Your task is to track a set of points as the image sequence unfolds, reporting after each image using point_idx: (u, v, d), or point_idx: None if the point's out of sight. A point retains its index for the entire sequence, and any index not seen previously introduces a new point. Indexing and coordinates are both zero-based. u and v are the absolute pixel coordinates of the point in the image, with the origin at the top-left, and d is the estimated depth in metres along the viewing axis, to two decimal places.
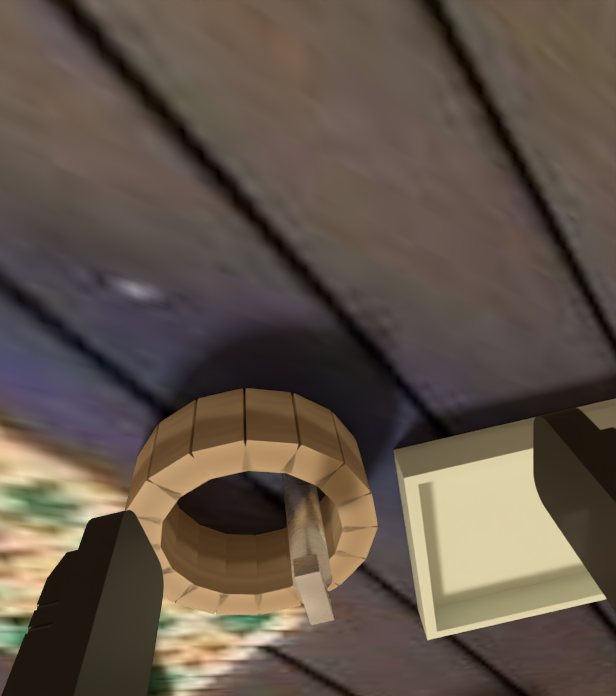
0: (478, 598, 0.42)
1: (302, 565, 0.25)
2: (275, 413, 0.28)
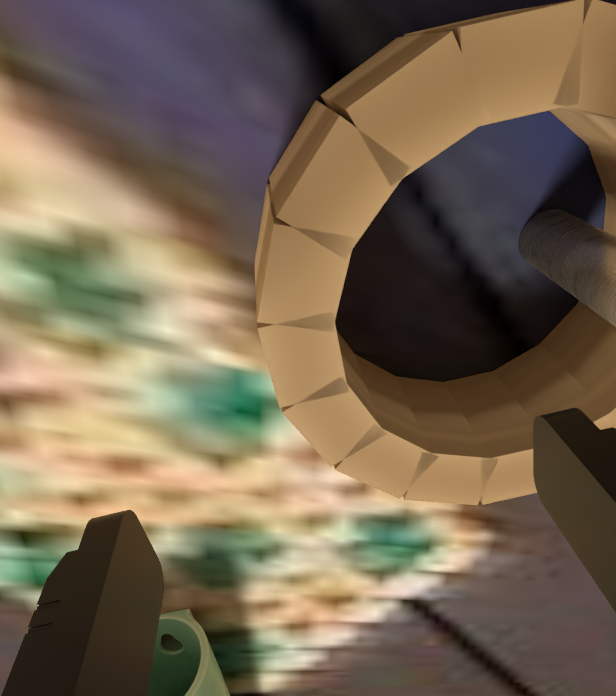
0: None
1: None
2: None
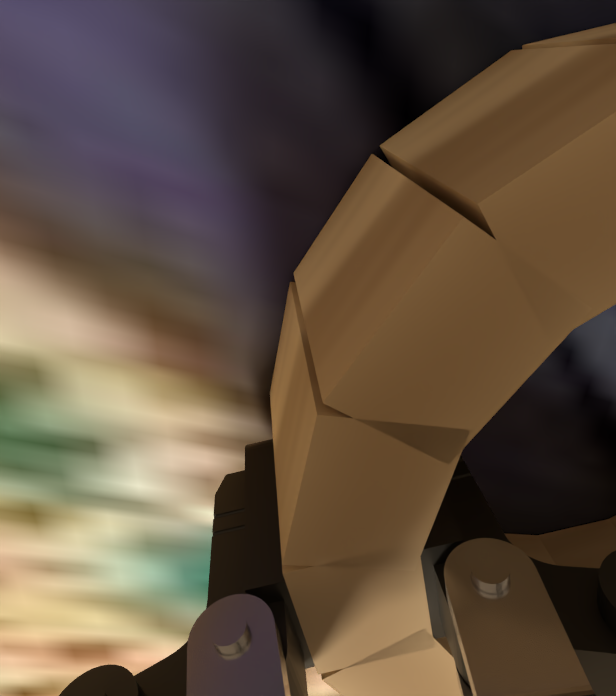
0: None
1: None
2: None
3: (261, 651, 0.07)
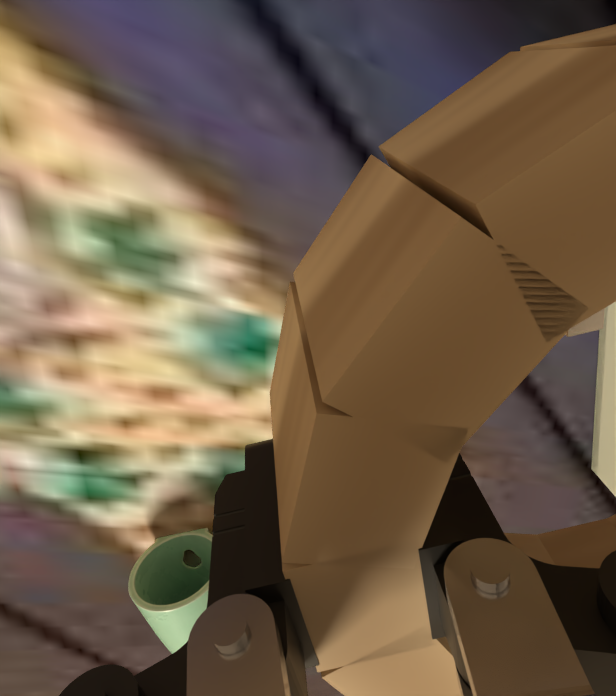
0: None
1: None
2: None
3: (261, 651, 0.07)
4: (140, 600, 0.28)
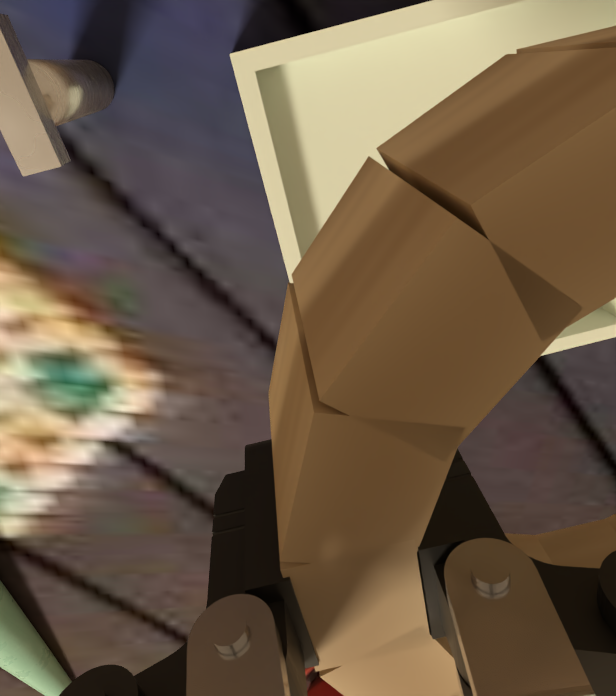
0: None
1: None
2: None
3: (261, 651, 0.07)
4: None
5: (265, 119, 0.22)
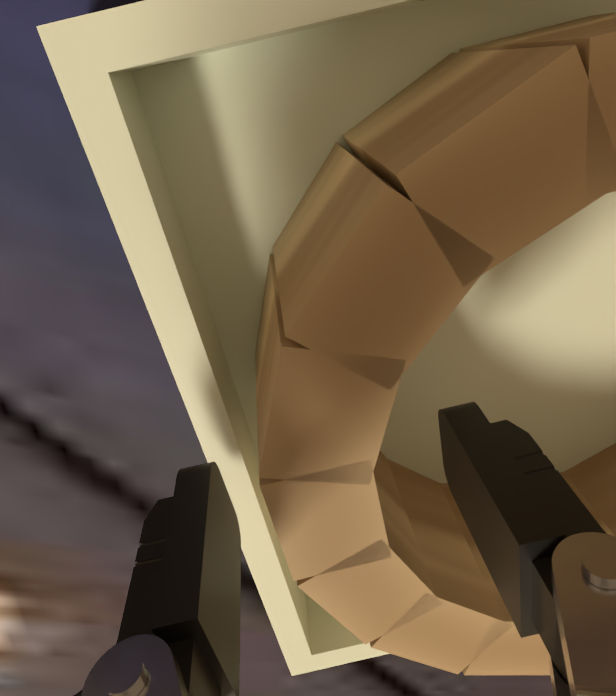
0: None
1: None
2: None
3: None
4: None
5: (144, 186, 0.09)
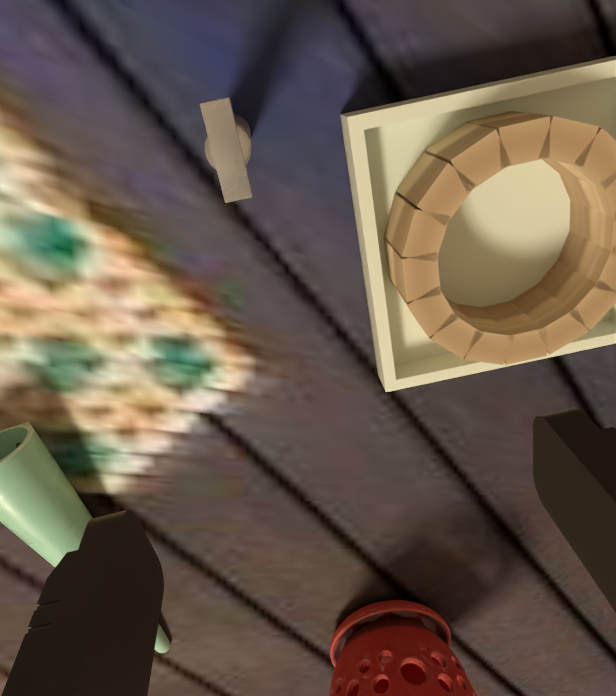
0: (444, 355, 0.37)
1: (211, 101, 0.22)
2: None
3: None
4: None
5: (367, 164, 0.29)
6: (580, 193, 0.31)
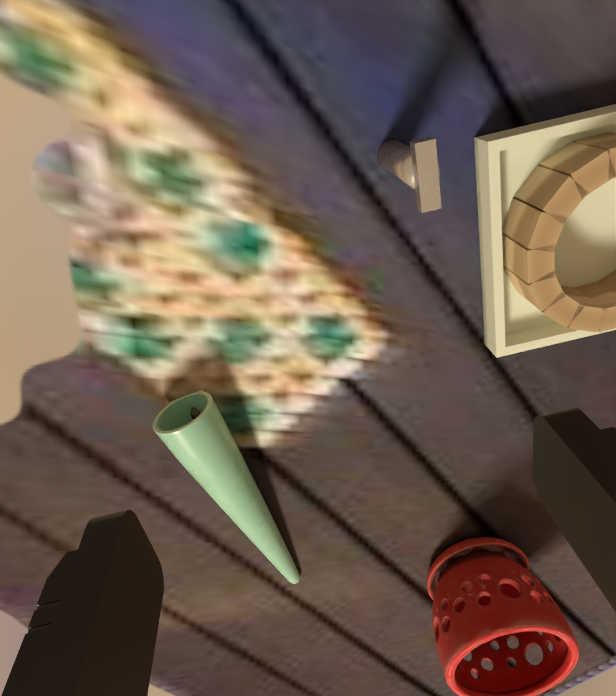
0: (540, 327, 0.46)
1: (419, 140, 0.30)
2: None
3: None
4: (160, 430, 0.43)
5: (499, 177, 0.38)
6: None
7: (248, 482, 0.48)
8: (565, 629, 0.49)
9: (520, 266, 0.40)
